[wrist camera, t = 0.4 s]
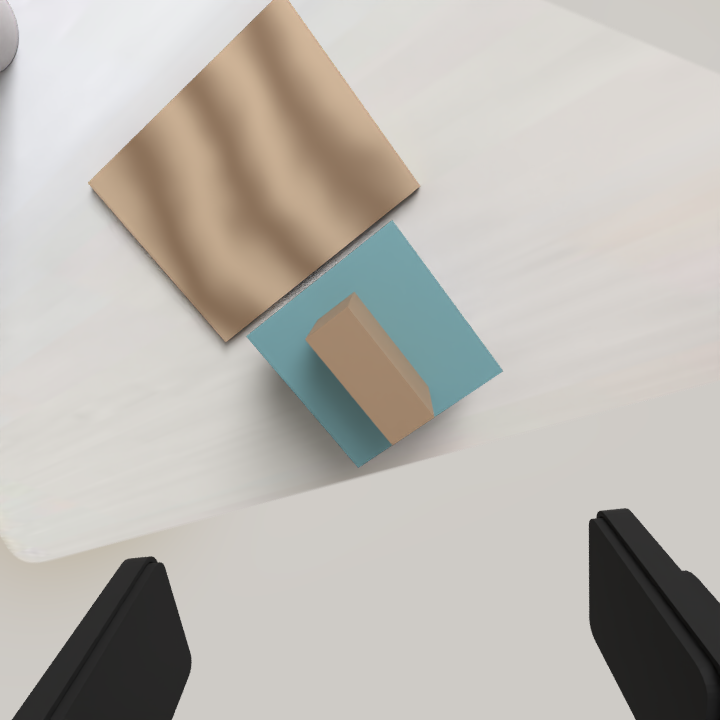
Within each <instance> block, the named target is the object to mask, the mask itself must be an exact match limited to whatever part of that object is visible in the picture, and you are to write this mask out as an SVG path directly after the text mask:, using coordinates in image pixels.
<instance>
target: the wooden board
mask: <svg viewBox="0 0 720 720" xmlns="http://www.w3.org/2000/svg"><path fill="white" fill-rule="evenodd" d="M88 184H89V185H90V186H91V187H92V188H93V190H94V191H95V192H96V193H97V194H98V195H99V196H100V198H101V199H102V200H103V201H104V202H105V203H106V205H107V206H108V207H109V208H110V209H111V210H112V211H113V213H114V214H115V215H116V216H117V217H118V218H119V220H120V221H121V222H122V223H123V224H124V225H125V227H126V228H127V229H128V230H129V231H130V232H131V233H132V235H133V236H134V237H135V238H136V239H137V240H138V242H139V243H140V244H141V245H142V246H143V247H144V248H145V250H146V251H147V252H148V253H149V254H150V255H151V257H152V258H153V259H154V260H155V261H156V262H157V264H158V265H159V266H160V267H161V268H162V269H163V270H164V272H165V273H166V274H167V275H168V276H169V277H170V279H171V280H172V281H173V282H174V283H175V284H176V285H177V287H178V288H179V289H180V290H181V291H182V292H183V294H184V295H185V296H186V297H187V298H188V299H189V300H190V302H191V303H192V304H193V305H194V306H195V307H196V309H197V310H198V311H199V312H200V313H201V314H202V316H203V317H204V318H205V319H206V320H207V321H208V322H209V324H210V325H211V326H212V327H213V328H214V329H215V331H216V332H217V333H218V334H219V335H220V336H221V337H222V339H223V340H224V341H225V342H227V341H228V340H229V339H231V338H232V337H233V336H234V335H236V334H237V333H238V332H239V331H241V330H242V329H243V328H244V327H246V326H247V325H248V324H249V323H251V322H252V321H253V320H254V319H256V318H257V317H258V316H259V315H261V314H262V313H263V312H264V311H266V310H267V309H268V308H269V307H270V306H272V305H273V304H274V303H275V302H277V301H278V300H279V299H280V298H282V297H283V296H284V295H285V294H287V293H288V292H289V291H290V290H292V289H293V288H294V287H295V286H297V285H298V284H299V283H300V282H302V281H303V280H304V279H305V278H307V277H308V276H309V275H310V274H312V273H313V272H314V271H315V270H317V269H318V268H319V267H320V266H322V265H323V264H324V263H325V262H327V261H328V260H329V259H330V258H332V257H333V256H334V255H335V254H337V253H338V252H339V251H340V250H342V249H343V248H344V247H345V246H347V245H348V244H349V243H350V242H351V241H353V240H354V239H355V238H356V237H358V236H359V235H360V234H361V233H363V232H364V231H365V230H366V229H368V228H369V227H370V226H371V225H373V224H374V223H375V222H376V221H378V220H379V219H380V218H381V217H383V216H384V215H385V214H386V213H388V212H389V211H390V210H391V209H393V208H394V207H395V206H396V205H398V204H399V203H400V202H401V201H403V200H404V199H405V198H406V197H408V196H409V195H410V194H411V193H413V192H414V191H415V190H416V189H418V188H419V187H420V185H419V184H418V182H417V181H416V179H415V178H414V177H413V175H412V174H411V172H410V171H409V170H408V168H407V167H406V165H405V164H404V162H403V161H402V160H401V158H400V157H399V155H398V154H397V153H396V151H395V150H394V148H393V147H392V146H391V144H390V143H389V141H388V140H387V139H386V137H385V136H384V134H383V133H382V131H381V130H380V129H379V127H378V126H377V124H376V123H375V122H374V120H373V119H372V117H371V116H370V115H369V113H368V112H367V110H366V109H365V108H364V106H363V105H362V103H361V102H360V100H359V99H358V98H357V96H356V95H355V93H354V92H353V91H352V89H351V88H350V86H349V85H348V84H347V82H346V81H345V79H344V78H343V77H342V75H341V74H340V72H339V71H338V70H337V68H336V67H335V65H334V64H333V62H332V61H331V60H330V58H329V57H328V55H327V54H326V53H325V51H324V50H323V48H322V47H321V46H320V44H319V43H318V41H317V40H316V39H315V37H314V36H313V34H312V33H311V31H310V30H309V29H308V27H307V26H306V24H305V23H304V22H303V20H302V19H301V17H300V16H299V15H298V13H297V12H296V10H295V9H294V8H293V6H292V5H291V3H290V2H289V0H273V1H272V2H271V3H270V4H268V5H267V6H266V7H265V8H264V9H263V10H262V11H261V12H260V13H259V14H258V15H257V16H256V17H255V18H254V19H253V20H252V21H251V22H250V23H249V24H248V25H247V26H246V27H245V28H244V29H243V30H242V31H241V32H240V33H239V34H238V35H237V36H236V37H235V38H234V39H233V40H232V41H231V42H230V43H229V44H228V45H227V46H226V47H225V48H224V49H223V50H222V51H221V52H220V53H219V54H218V55H217V56H216V57H215V58H214V59H213V60H212V61H211V62H210V63H209V64H208V65H207V66H206V67H205V68H204V69H203V70H202V71H201V72H200V73H199V74H198V75H197V76H196V77H195V78H194V79H193V80H192V81H191V82H190V83H189V84H187V85H186V86H185V87H184V88H183V89H182V90H181V91H180V92H179V93H178V94H177V95H176V96H175V97H174V98H173V99H172V100H171V101H170V102H169V103H168V104H167V105H166V106H165V107H164V108H163V109H162V110H161V111H160V112H159V113H158V114H157V115H156V116H155V117H154V118H153V119H152V120H151V121H150V122H149V123H148V124H147V125H146V126H145V127H144V128H143V129H142V130H141V131H140V132H139V133H138V134H137V135H136V136H135V137H134V138H133V139H132V140H131V141H130V142H129V143H128V144H127V145H126V146H125V147H124V148H123V149H122V150H121V151H120V152H119V153H118V154H117V155H116V156H115V157H114V158H113V159H112V160H111V161H110V162H109V163H108V164H107V165H105V166H104V167H103V168H102V169H101V170H100V171H99V172H98V173H97V174H96V175H95V176H94V177H93V178H92V179H91V180H90V181H89V182H88Z"/></svg>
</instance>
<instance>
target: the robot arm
mask: <svg viewBox="0 0 720 720" xmlns="http://www.w3.org/2000/svg"><path fill="white" fill-rule="evenodd" d="M589 620H590V626H591V631H592V634H593V637H594V639H595V641H596V643H597V645H598V647H599V649H600V651H601V653H602V655H603V657H604V659H605V661H606V663H607V665H608V666H609V669H610V670H611V672H612V674H613V676H614V678H615V680H616V682H617V684H618V686H619V688H620V690H621V692H622V694H623V696H624V698H625V700H626V701H627V703H628V705H629V707H630V709H631V711H632V713H633V715H634V717H635V719H636V720H720V603H719V602H718V601H717V600H716V598H715V597H714V596H713V595H712V594H711V593H710V592H709V591H708V589H707V588H706V587H705V586H704V585H703V584H702V583H701V581H700V580H699V579H698V578H697V577H696V576H695V575H693V574H692V573H691V572H688V571H681V569H680V568H679V567H678V566H677V565H676V564H675V563H674V561H673V560H672V559H671V558H670V557H669V555H668V554H667V553H666V552H665V551H664V550H663V549H662V547H661V546H660V545H659V544H658V542H657V541H656V540H655V539H654V538H653V537H652V536H651V534H650V533H649V532H648V531H647V530H646V528H645V527H644V526H643V525H642V524H641V523H640V521H639V520H638V519H637V518H636V517H635V516H634V514H633V513H632V512H631V511H630V510H629V509H626V508H624V509H615V510H605V511H599V512H598V513H597V518H596V519H591V520H590V521H589ZM190 670H191V654H190V650H189V647H188V644H187V640H186V637H185V633H184V630H183V627H182V623H181V620H180V617H179V614H178V610H177V607H176V603H175V600H174V596H173V593H172V590H171V586H170V583H169V579H168V576H167V573H166V569H165V567H164V565H163V563H160V562H159V563H158V562H157V560H156V559H155V558H154V557H141V558H131V559H127V560H125V561H124V562H123V563H122V564H121V566H120V567H119V569H118V570H117V571H116V573H115V574H114V576H113V577H112V578H111V580H110V581H109V583H108V584H107V585H106V587H105V588H104V590H103V591H102V593H101V594H100V595H99V597H98V598H97V600H96V601H95V602H94V604H93V605H92V607H91V608H90V610H89V611H88V613H87V614H86V616H85V617H84V618H83V620H82V621H81V622H80V624H79V625H78V627H77V628H76V629H75V631H74V632H73V634H72V635H71V637H70V638H69V639H68V641H67V642H66V644H65V645H64V647H63V648H62V650H61V651H60V652H59V654H58V655H57V657H56V658H55V659H54V661H53V662H52V664H51V665H50V666H49V668H48V669H47V671H46V672H45V674H44V675H43V676H42V678H41V679H40V681H39V682H38V683H37V685H36V686H35V688H34V689H33V691H32V692H31V693H30V695H29V696H28V698H27V699H26V700H25V702H24V703H23V705H22V706H21V708H20V709H19V710H18V712H17V713H16V715H15V716H14V718H13V719H12V720H172V718H173V715H174V713H175V710H176V707H177V705H178V702H179V700H180V697H181V695H182V692H183V690H184V687H185V684H186V682H187V679H188V677H189V674H190Z"/></svg>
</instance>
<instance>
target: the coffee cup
mask: <svg viewBox="0 0 720 720" xmlns="http://www.w3.org/2000/svg"><path fill="white" fill-rule="evenodd" d="M17 46H18V27H17V22H16V18H15V15H14V12H13V10H12V8H11V6H10V4H9V2H8V1H7V0H0V72H1V71H3V70H4V69H5V68H6V67H7V66H8V65H9V64H10V63H11V61H12V60H13V58H14V56H15V53H16V50H17Z"/></svg>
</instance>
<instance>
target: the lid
mask: <svg viewBox="0 0 720 720" xmlns="http://www.w3.org/2000/svg"><path fill="white" fill-rule="evenodd" d="M246 337H247V338H248V339H249V340H250V341H251V342H252V344H253V345H254V346H255V347H256V348H257V350H258V351H259V352H260V353H261V354H262V355H263V357H264V358H265V359H266V360H267V361H268V362H269V364H270V365H271V366H272V367H273V368H274V369H275V371H276V372H277V373H278V374H279V375H280V377H281V378H282V379H283V380H284V381H285V382H286V384H287V385H288V386H289V387H290V388H291V389H292V391H293V392H294V393H295V394H296V395H297V396H298V398H299V399H300V400H301V401H302V402H303V404H304V405H305V406H306V407H307V408H308V409H309V411H310V412H311V413H312V414H313V415H314V416H315V418H316V419H317V420H318V421H319V422H320V423H321V425H322V426H323V427H324V428H325V429H326V431H327V432H328V433H329V434H330V435H331V436H332V438H333V439H334V440H335V441H336V442H337V443H338V445H339V446H340V447H341V448H342V449H343V450H344V452H345V453H346V454H347V455H348V456H349V458H350V459H351V460H352V461H353V462H354V463H355V465H356V466H357V467H358V468H359V467H360V466H362V465H363V464H365V463H366V462H368V461H369V460H371V459H372V458H374V457H375V456H377V455H378V454H380V453H381V452H383V451H384V450H386V449H387V448H389V447H390V446H392V445H394V444H395V443H397V442H398V441H400V440H401V439H403V438H404V437H406V436H407V435H409V434H410V433H412V432H413V431H415V430H416V429H418V428H419V427H421V426H422V425H424V424H425V423H427V422H428V421H430V420H431V419H433V418H434V417H435V416H437V415H438V414H440V413H441V412H443V411H444V410H446V409H447V408H449V407H450V406H452V405H453V404H455V403H456V402H458V401H459V400H461V399H462V398H464V397H465V396H467V395H468V394H470V393H471V392H473V391H474V390H476V389H477V388H479V387H480V386H482V385H483V384H485V383H486V382H488V381H489V380H491V379H492V378H494V377H495V376H497V375H498V374H500V373H501V372H503V370H502V369H501V367H500V366H499V365H498V363H497V362H496V361H495V359H494V358H493V357H492V355H491V354H490V352H489V351H488V350H487V348H486V347H485V346H484V344H483V343H482V342H481V340H480V339H479V337H478V336H477V335H476V333H475V332H474V331H473V329H472V328H471V327H470V325H469V324H468V322H467V321H466V320H465V318H464V317H463V316H462V314H461V313H460V312H459V310H458V309H457V308H456V306H455V305H454V303H453V302H452V301H451V299H450V298H449V297H448V295H447V294H446V293H445V291H444V290H443V288H442V287H441V286H440V284H439V283H438V282H437V280H436V279H435V278H434V276H433V275H432V274H431V272H430V271H429V269H428V268H427V267H426V265H425V264H424V263H423V261H422V260H421V259H420V257H419V256H418V254H417V253H416V252H415V250H414V249H413V248H412V246H411V245H410V244H409V242H408V241H407V239H406V238H405V237H404V235H403V234H402V233H401V231H400V230H399V229H398V227H397V226H396V225H395V223H394V222H393V220H392V221H390V222H389V223H388V224H387V225H385V226H384V227H383V228H381V229H380V230H379V231H378V232H376V233H375V234H374V235H373V236H371V237H370V238H369V239H368V240H366V241H365V242H364V243H363V244H361V245H360V246H359V247H358V248H356V249H355V250H354V251H353V252H351V253H350V254H349V255H348V256H346V257H345V258H344V259H343V260H341V261H340V262H339V263H338V264H336V265H335V266H334V267H333V268H331V269H330V270H329V271H327V272H326V273H325V274H324V275H322V276H321V277H320V278H319V279H317V280H316V281H315V282H314V283H312V284H311V285H310V286H309V287H307V288H306V289H305V290H304V291H302V292H301V293H300V294H299V295H297V296H296V297H295V298H294V299H292V300H291V301H290V302H289V303H287V304H286V305H285V306H284V307H282V308H281V309H280V310H278V311H277V312H276V313H275V314H273V315H272V316H271V317H270V318H268V319H267V320H266V321H265V322H263V323H262V324H261V325H260V326H258V327H257V328H256V329H255V330H253V331H252V332H251V333H250V334H249V335H247V336H246Z"/></svg>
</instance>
